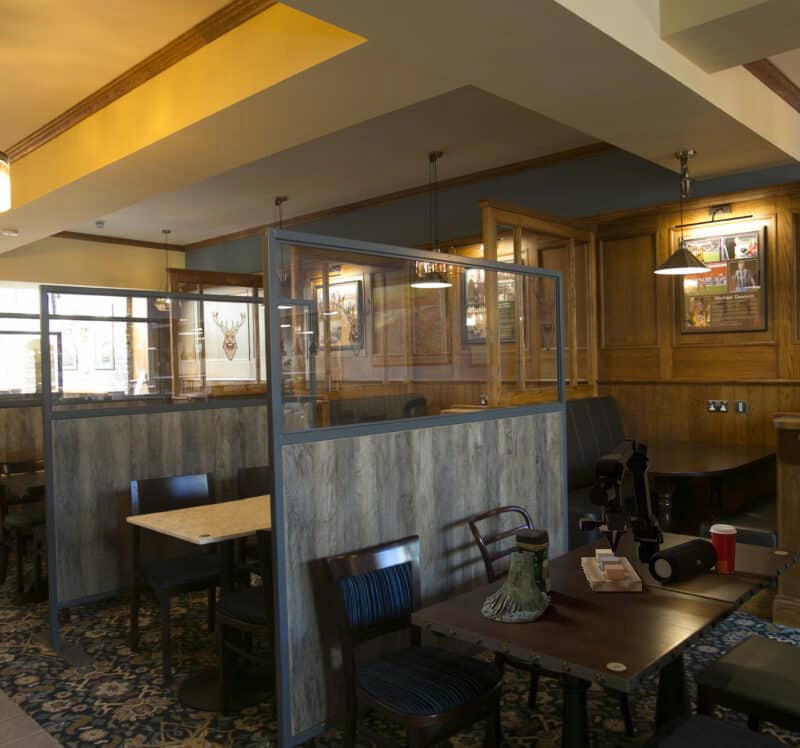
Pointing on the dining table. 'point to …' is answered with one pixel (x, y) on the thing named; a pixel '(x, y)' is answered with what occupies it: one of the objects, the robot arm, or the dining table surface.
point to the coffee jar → (536, 554)
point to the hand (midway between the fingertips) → (613, 552)
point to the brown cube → (614, 572)
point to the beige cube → (603, 554)
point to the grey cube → (608, 562)
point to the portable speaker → (682, 561)
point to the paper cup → (724, 547)
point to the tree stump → (517, 595)
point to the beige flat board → (600, 584)
